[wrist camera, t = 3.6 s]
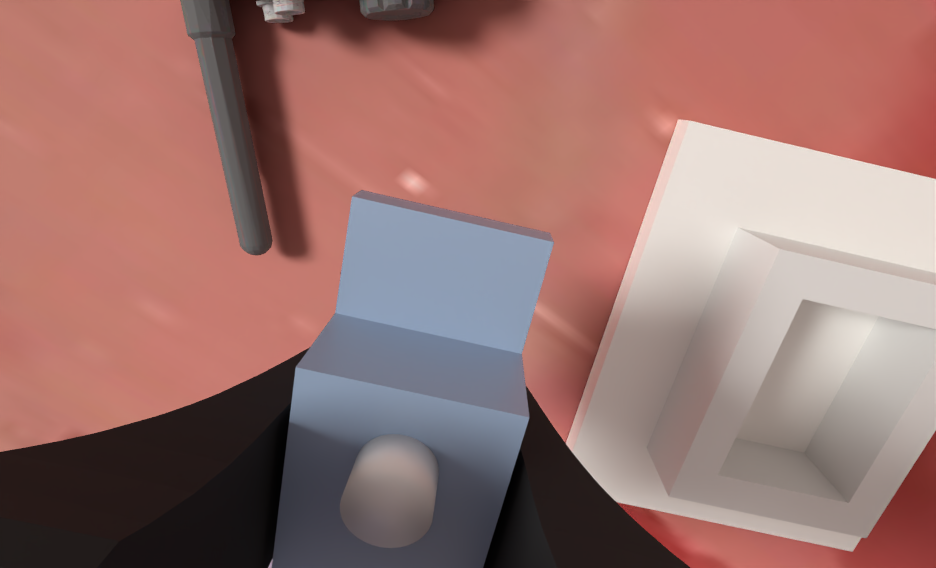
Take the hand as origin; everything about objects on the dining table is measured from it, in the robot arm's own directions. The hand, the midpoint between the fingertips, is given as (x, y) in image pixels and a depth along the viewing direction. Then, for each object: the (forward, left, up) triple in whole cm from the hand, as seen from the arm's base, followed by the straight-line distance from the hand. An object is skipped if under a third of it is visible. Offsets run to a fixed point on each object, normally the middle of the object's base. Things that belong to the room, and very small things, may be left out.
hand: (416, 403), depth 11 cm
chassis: (0, -12, -8) cm, 14 cm away
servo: (0, 0, -1) cm, 1 cm away
